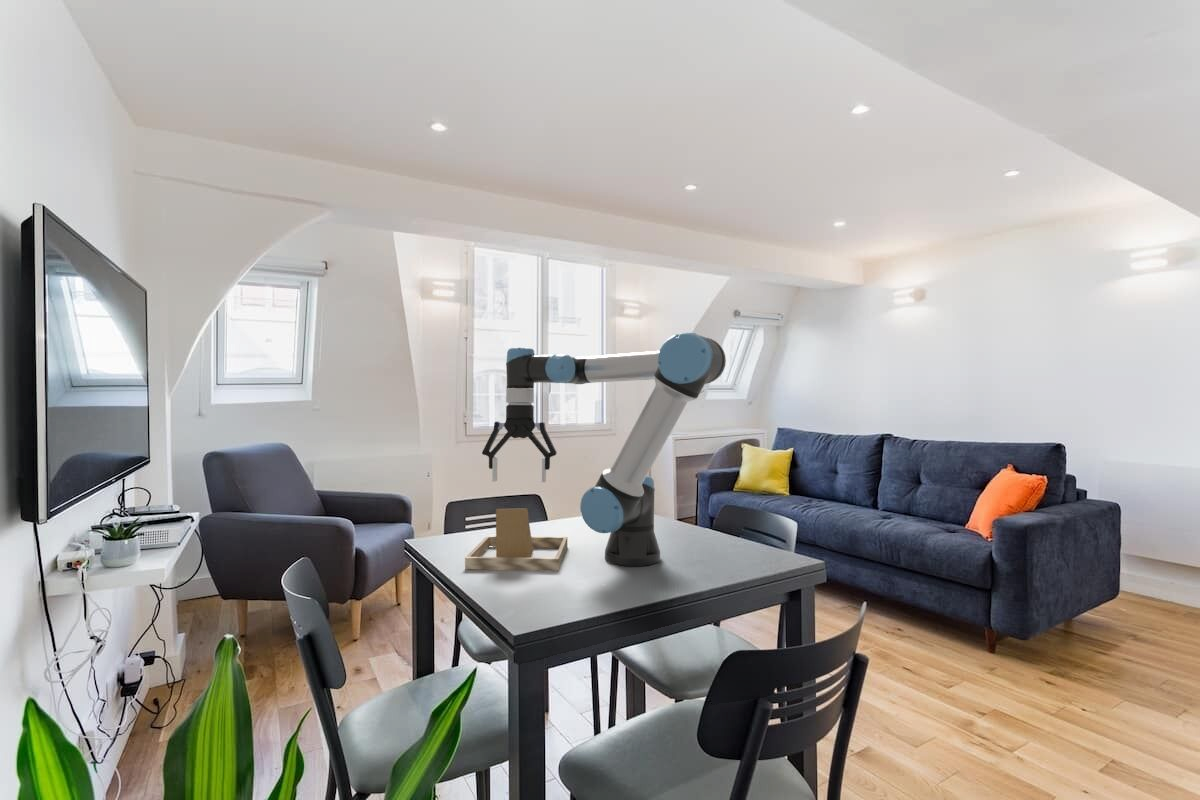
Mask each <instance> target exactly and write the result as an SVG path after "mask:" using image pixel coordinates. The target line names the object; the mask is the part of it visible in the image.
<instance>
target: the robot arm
mask: <svg viewBox="0 0 1200 800" xmlns="http://www.w3.org/2000/svg"><path fill="white" fill-rule="evenodd" d="M726 357H727V356H726V353H725V351H724V349H723V347H722V346H721V345H720V344H719V343H718V342H717V341H716V340H714V339H712V338H709V337H706V336H702V335H700V334H697V333H695V332H680V333H677V334H674V335H672V336H670V337H668V339H666V340H665V341H664V343H663V344H662V345H661V347H660V349H659V350H654V351H653V350H652V351H643V352H641V351H640V352H629V353H617V354H605V355H593V356H592V355H590V356H576V357H575V356H571V355H569V354H565V353H563V354H562V353H554V354H553V353H552V354H538V355H537V354H535V350H534V349H533V348H531V347H511V348H509V349H507V353H506V363H505V366H506V367H505V368H506V390H505V392H506V394H505V395H506V396H505V400H506V401H505V402H506V403H507V405H506V406H505V409H506V410H505V411H506V412H505V421H504V422H501V421H494V423H493V424H494V425H493V430H492V432H491V434H490V436H489V438H488V439H487V442H486V444H485V445H484V447H483V449H482V452H481V454H482V455H483V456H487V458H488V468H489V470H492V471H491V472H492V474H491V475H492V478H491V479H492V480H491V481H492V482H496V481H498V456H495V455H497V453H498V452H499V451H500V450H501V448H502V447H504V445H505V444H506V443H507V441H508V440H510V439H511V438H513V439H518V438H519V439H520V438H521V439H526V438H528V439H529V440H530V441H531V442H532V443H533V445H534V446H535V447H536V448H537V449H538V451H539V452H540V453H541V455H542V456H543V457H542V458H541V483H545V482H546V481H547V480H546V479H547V470H550V469H551V466H550V465H551V458H553V457H554V456H556V455H557V449H556V447H555V446H554V444H553V442H552V439H551V438H550V436H549V434H548V432H547V429H546V423H545V422H544V421H540V422H535V420H534V418H535V417H534V415H535V414H534V411H535V409H534V408H535V406H534V405H532V404H534V403H535V400H534V397H535V396H534V395H535V393H534V392H535V390H534V389H535V384H536V383H543V384H544V383H548V384H549V383H550V384H552V383H553V384H574V385H584V384H592V383H593V384H594V383H608V382H609V383H611V382H612V383H613V382H630V381H631V382H633V381H648V380H649V381H650V380H654V382H655V386H654V387H653V390H652V392H651V393H650V395H649V397H648V400H647V401H646V402H645V405H644V406H643V409H642V410H641V413H640V414H639V416H638V418H637V420H636V422H635V424H634V426H633V427H632V429H631V431H630V432H629V435H628V436H627V438H626V440H625V442H624V444H623V446H622V448H621V450H620V451H619V453H618V455H617V457H616V459H615V461H614V463H613V464H612V467H610V468H605V469H604V470H603V471H602V473H601V474H600V475H599V478H598V480H597V482H596V484H595V485H594V486H593V487H589V489H587V490H586V491H585V492H584V494H583V495H582V496H581V500H580V504H579V506H580V507H579V509H580V513H581V517H582V519H583V521H584V523H585V524H586V525H587V527H589V529H591V530H592V531H594V532H596V533H599V534H609V537H608V541H607V543H606V547H605V550H604V560H605V561H606V562H607V563H611V564H613V565H616V566H617V565H618V566H625V567H646V566H651V565H655V564H657V563H659V562H660V561H661V549H660V546H659V543H658V539H657V537H656V533H655V491H656V488H655V483H654V482H655V481H654V478H653V477H652V476H648V474H649V473H650V471H651V468H652V467H653V466H654V463H655V461H656V460H657V458H658V456H659V455H660V453H661V450H662V449H663V447H664V445H665V443H666V441H667V440H668V438H669V436H670V434H671V433H672V431H673V429H674V427H675V425H676V423H677V422H678V420H679V418H680V416H681V414H682V413H683V411H684V410H685V407H686V406H687V404H688V403H689V402H692V401H694V400H695V401H696V400H697V399H698V397H699V395H700V393H701V392H702V390H703V388H704V386H705V384H706V385H707V384H710V383H712V382H715V381H716V380H718V378H719V377H721V376H722V374H723V372H724V371H725V367H726V365H727V364H726V362H727V359H726ZM503 428H505V430H506V431H507V432H506V433H505V434H504V435H503V437H502V438H501V439H500V440H499V442H498V443H496V445H495V446H494V447H493V449H492V446H493V444H494V443H495V440H496V439H497V436H498V435H499V433H500V431H501V430H502V429H503ZM535 428H537V431H540V434H541V436H542V438H543V440H544V442H545V445H546V446H547V448H548V450H549V451H548V450H547V448H546V447H545V446H544V445H543V444H542V443H541V442H540V440H539V439H538V438H537V436H536V435H535V433H534V432H533V431H534V430H535ZM491 449H492V450H491ZM490 450H491V451H490Z"/></svg>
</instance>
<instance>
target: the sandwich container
mask: <svg viewBox="0 0 1200 800" xmlns="http://www.w3.org/2000/svg"><path fill="white" fill-rule="evenodd" d="M529 519H530V518H529V510H528V508H517V507H516V508H513V507H511V508H495V536H496V547H495V548H496V549H495V551H496V552H495V553H496V555H495V557H522V558H532V556H531V555H533V553H534V548H533V546H532V539H531V537H532V534H531V527H530V520H529ZM532 552H533V553H532Z"/></svg>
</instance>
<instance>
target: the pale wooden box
mask: <svg viewBox="0 0 1200 800" xmlns="http://www.w3.org/2000/svg"><path fill="white" fill-rule="evenodd" d="M531 539H532V546H533V547H538V548H542V549H558V550H557V551H556V555H555V557H531V558H522V557H496V556H483V555H482V554H483V553H484V554H485V552H486V551H487V550H488V549H489V548H490V547H489V546H496V535H486V536H485V537H484V539H482V540H481V542H479V543H478V544H477V545H476V546H475V547H474V548H473V549H472V550H471V551H470V552H469V553H468V554H467V556H465V557H464V570H466V569H486V570H485V571H534V570H560V567H561V565H562V562H563V559H564V557H565V554H566V552H567V549H568V537H567V536H531ZM488 547H489V548H488ZM487 548H488V549H487ZM538 548H537V549H538ZM486 549H487V550H486ZM485 550H486V551H485ZM481 555H482V556H481ZM480 556H481V557H480Z"/></svg>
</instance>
